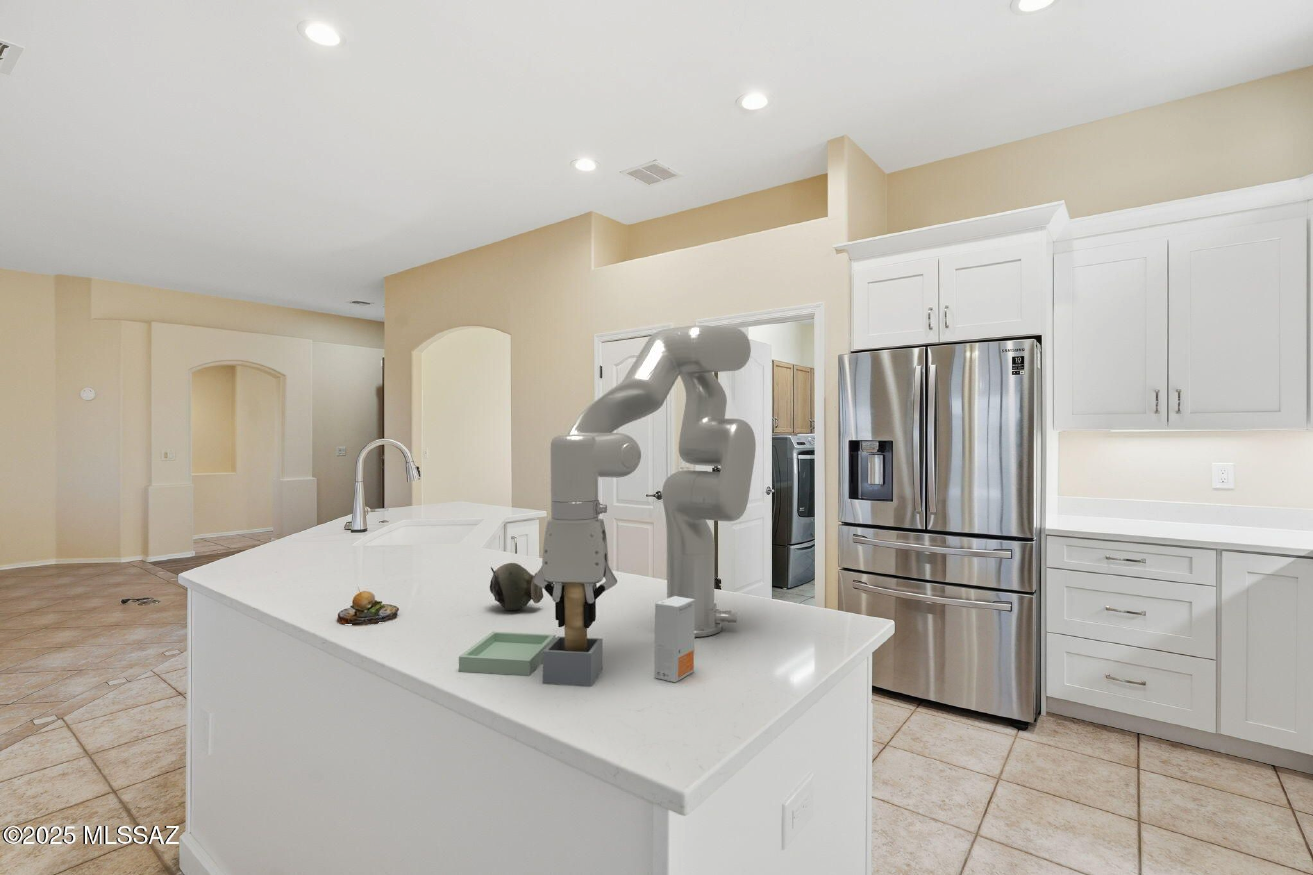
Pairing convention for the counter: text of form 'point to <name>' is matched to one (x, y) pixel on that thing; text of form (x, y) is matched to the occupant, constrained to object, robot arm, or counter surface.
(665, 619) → the skincare box
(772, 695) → the counter surface
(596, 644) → the open box
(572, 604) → the dowel
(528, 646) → the tray
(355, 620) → the plate of food
